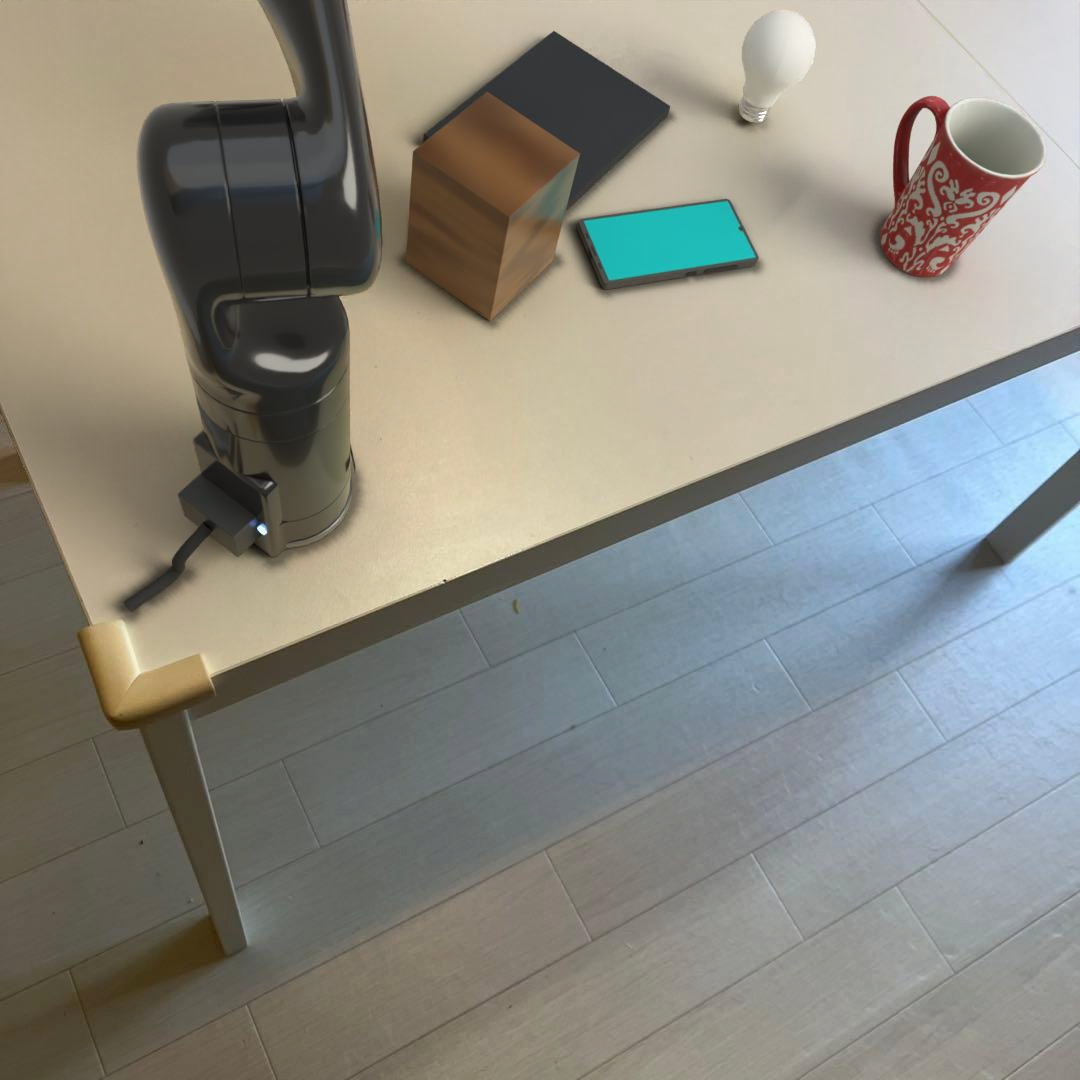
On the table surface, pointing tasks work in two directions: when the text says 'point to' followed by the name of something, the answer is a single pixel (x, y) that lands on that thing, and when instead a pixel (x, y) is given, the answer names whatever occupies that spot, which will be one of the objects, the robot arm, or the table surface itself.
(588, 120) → the placemat
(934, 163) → the mug
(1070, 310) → the table surface
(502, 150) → the wooden block
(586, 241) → the smartphone
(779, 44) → the light bulb
